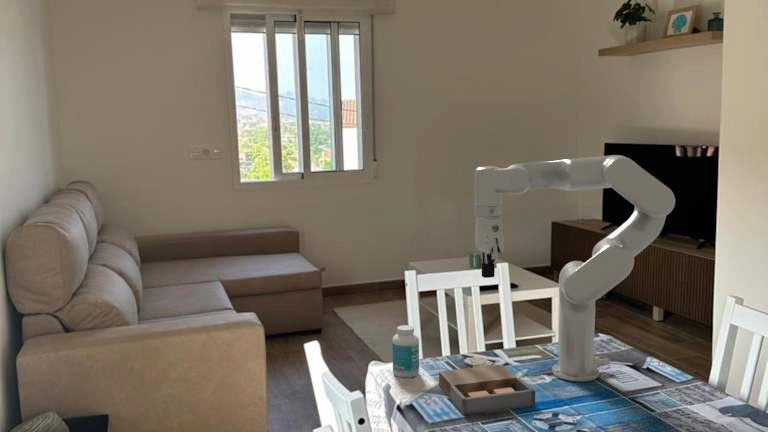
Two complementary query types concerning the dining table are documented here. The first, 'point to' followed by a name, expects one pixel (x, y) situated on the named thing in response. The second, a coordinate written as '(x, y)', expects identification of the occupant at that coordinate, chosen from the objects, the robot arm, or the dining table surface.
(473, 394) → the tile
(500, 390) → the tile
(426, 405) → the dining table surface
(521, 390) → the tray
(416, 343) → the pill bottle
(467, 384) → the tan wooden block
